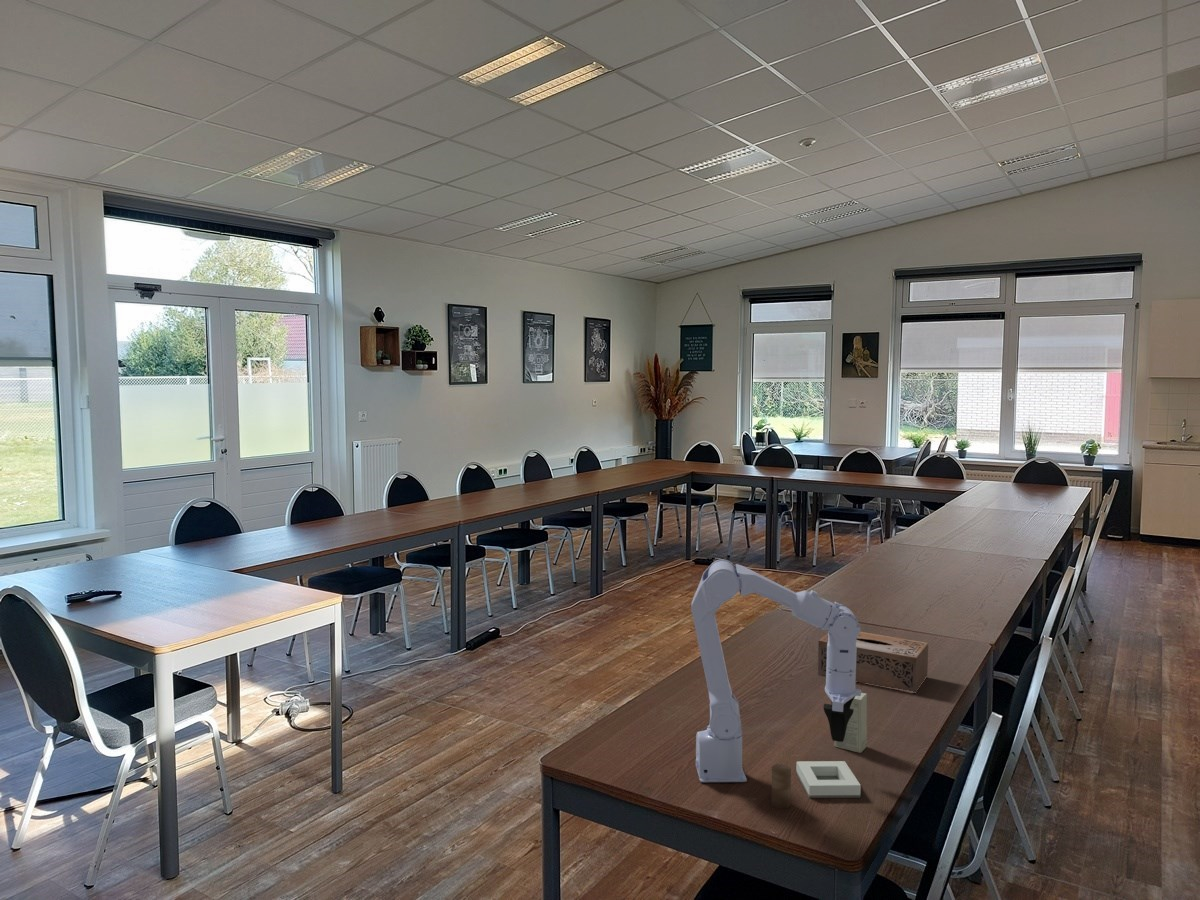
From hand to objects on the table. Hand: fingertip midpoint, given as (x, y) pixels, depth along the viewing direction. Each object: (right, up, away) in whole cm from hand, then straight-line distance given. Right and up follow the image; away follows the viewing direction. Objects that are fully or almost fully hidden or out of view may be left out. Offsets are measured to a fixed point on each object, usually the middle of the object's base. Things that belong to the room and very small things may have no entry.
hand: (839, 732), depth 162 cm
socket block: (-3, -10, -1) cm, 10 cm away
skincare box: (+7, -9, +16) cm, 20 cm away
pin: (-14, -11, -8) cm, 19 cm away
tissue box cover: (+27, -6, +59) cm, 65 cm away
